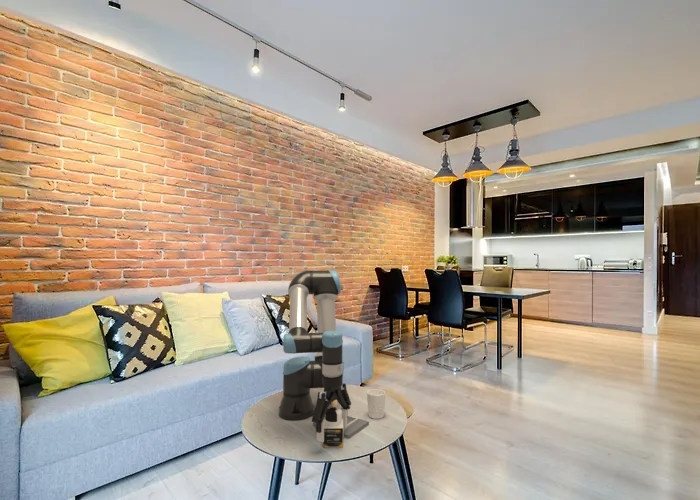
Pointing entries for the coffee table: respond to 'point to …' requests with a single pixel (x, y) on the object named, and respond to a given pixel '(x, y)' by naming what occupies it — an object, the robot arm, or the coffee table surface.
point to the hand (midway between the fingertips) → (332, 433)
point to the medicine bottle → (333, 428)
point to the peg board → (350, 424)
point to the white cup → (376, 403)
